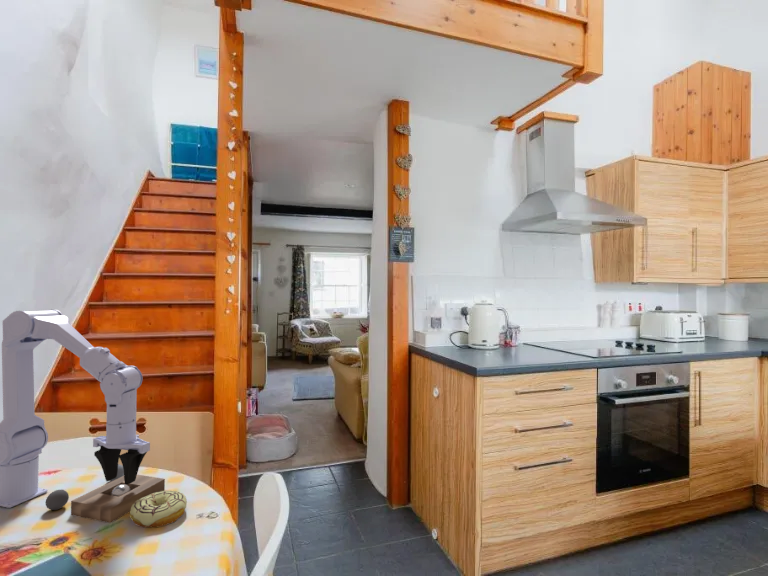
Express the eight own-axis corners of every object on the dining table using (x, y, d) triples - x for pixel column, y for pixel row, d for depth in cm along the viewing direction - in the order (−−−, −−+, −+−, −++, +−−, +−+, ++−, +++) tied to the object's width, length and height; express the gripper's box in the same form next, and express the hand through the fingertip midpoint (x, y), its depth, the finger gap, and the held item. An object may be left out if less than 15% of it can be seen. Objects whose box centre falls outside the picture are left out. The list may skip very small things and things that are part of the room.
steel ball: (105, 506, 90) (105, 488, 90) (121, 497, 94) (121, 480, 94) (119, 508, 89) (119, 490, 89) (135, 499, 92) (135, 482, 93)
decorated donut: (145, 538, 78) (145, 518, 78) (120, 520, 84) (121, 502, 84) (196, 513, 87) (196, 496, 87) (170, 499, 93) (170, 483, 93)
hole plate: (70, 515, 86) (71, 500, 86) (128, 485, 99) (129, 473, 99) (110, 523, 83) (110, 508, 83) (164, 491, 96) (164, 478, 96)
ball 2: (101, 483, 100) (102, 467, 100) (116, 476, 104) (116, 460, 104) (114, 485, 99) (114, 469, 99) (128, 478, 103) (128, 462, 103)
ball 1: (40, 512, 87) (40, 493, 87) (60, 503, 91) (60, 485, 91) (54, 514, 86) (54, 496, 86) (73, 505, 90) (73, 487, 90)
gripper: (161, 418, 93) (160, 477, 93) (113, 413, 97) (112, 469, 97) (134, 428, 86) (133, 491, 86) (84, 422, 90) (83, 482, 90)
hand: (120, 480), depth 91 cm, fingers open, 5 cm apart
